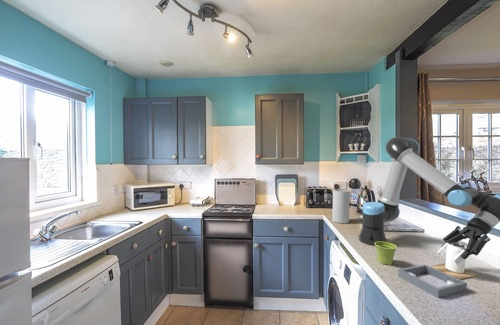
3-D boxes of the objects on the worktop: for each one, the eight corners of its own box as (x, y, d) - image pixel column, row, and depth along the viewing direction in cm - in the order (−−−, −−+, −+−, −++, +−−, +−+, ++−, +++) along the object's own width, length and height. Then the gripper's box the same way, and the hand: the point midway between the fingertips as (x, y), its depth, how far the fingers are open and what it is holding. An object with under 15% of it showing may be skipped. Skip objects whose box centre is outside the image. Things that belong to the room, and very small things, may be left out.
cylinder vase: (352, 222, 182) (353, 191, 181) (340, 224, 177) (341, 191, 176) (340, 218, 193) (340, 188, 193) (328, 220, 188) (329, 189, 187)
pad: (430, 266, 110) (430, 265, 110) (448, 263, 113) (448, 262, 113) (460, 279, 98) (460, 278, 98) (478, 275, 102) (478, 274, 102)
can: (445, 265, 110) (446, 240, 109) (463, 269, 106) (465, 244, 105) (445, 270, 105) (447, 244, 104) (464, 275, 101) (466, 248, 100)
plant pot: (387, 268, 108) (388, 249, 107) (369, 259, 116) (370, 242, 116) (400, 264, 111) (401, 247, 111) (382, 256, 120) (383, 240, 120)
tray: (398, 276, 101) (398, 269, 101) (424, 271, 106) (424, 264, 106) (437, 297, 85) (438, 289, 85) (466, 290, 90) (466, 283, 90)
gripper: (513, 236, 96) (475, 275, 96) (465, 222, 116) (433, 254, 116) (502, 223, 96) (463, 262, 95) (456, 211, 116) (423, 244, 115)
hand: (447, 258), depth 105 cm, fingers open, 7 cm apart
